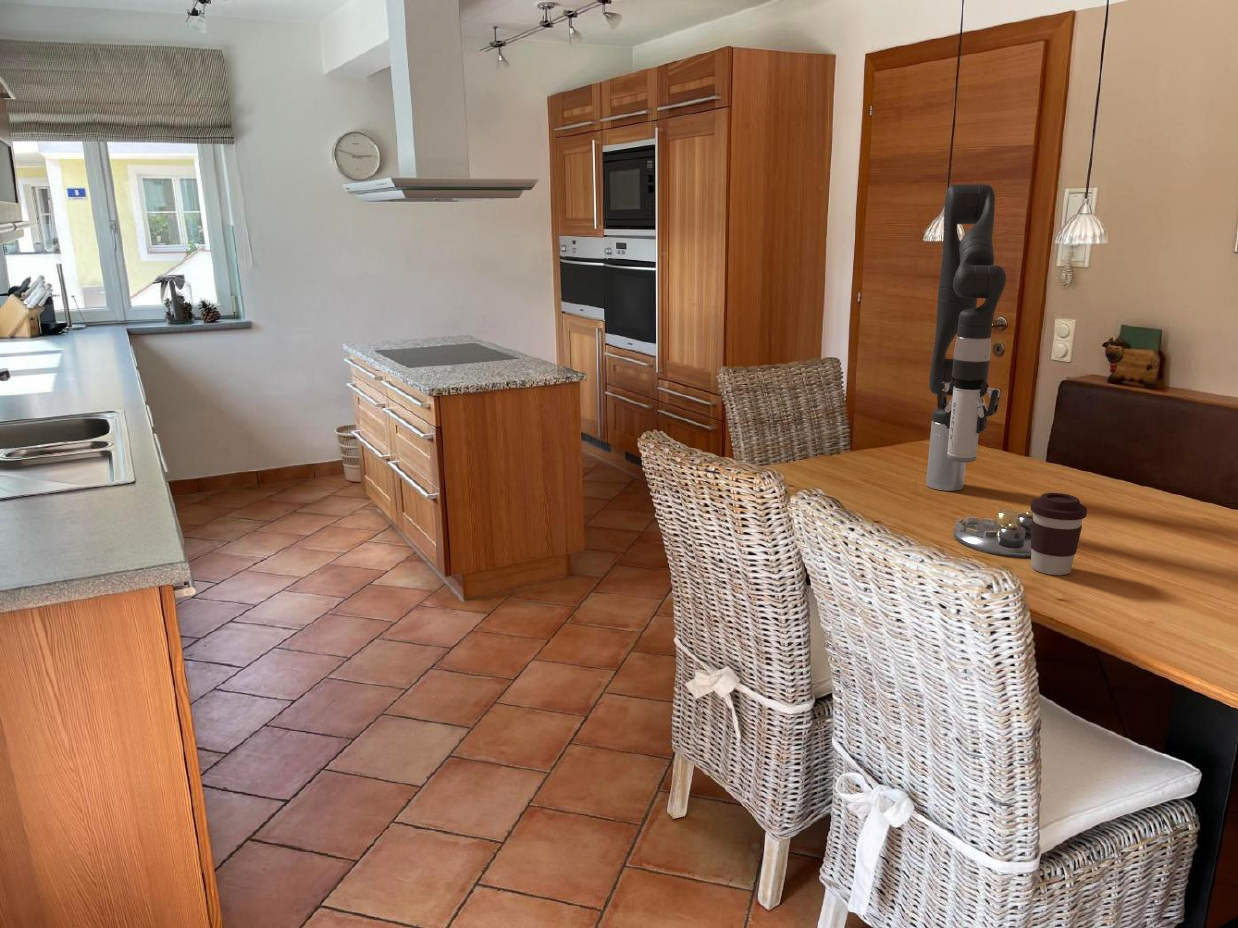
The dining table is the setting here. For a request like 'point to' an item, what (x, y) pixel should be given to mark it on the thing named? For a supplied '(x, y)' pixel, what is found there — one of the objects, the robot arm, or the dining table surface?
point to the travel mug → (964, 421)
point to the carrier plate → (990, 541)
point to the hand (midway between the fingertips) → (964, 430)
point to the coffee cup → (1055, 532)
